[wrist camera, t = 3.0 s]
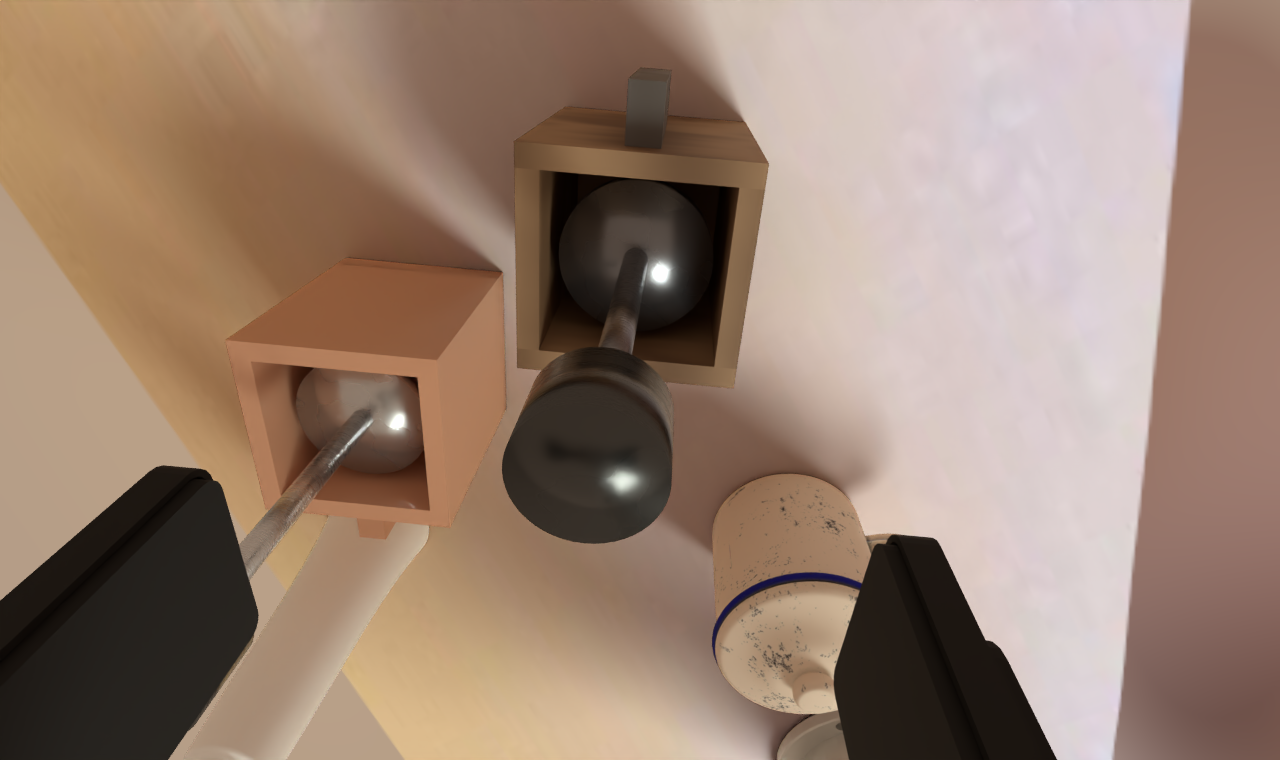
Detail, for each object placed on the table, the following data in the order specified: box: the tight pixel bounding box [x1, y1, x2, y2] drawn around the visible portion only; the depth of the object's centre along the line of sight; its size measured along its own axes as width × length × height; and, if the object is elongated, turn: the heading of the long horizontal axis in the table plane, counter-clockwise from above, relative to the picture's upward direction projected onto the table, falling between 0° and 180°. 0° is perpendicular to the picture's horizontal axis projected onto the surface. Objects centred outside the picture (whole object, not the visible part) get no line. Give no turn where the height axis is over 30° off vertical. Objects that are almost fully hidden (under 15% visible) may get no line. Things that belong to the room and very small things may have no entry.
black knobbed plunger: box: [188, 367, 424, 731], centre depth 23 cm, size 6×6×14 cm
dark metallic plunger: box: [502, 177, 713, 544], centre depth 19 cm, size 6×6×14 cm
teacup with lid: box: [712, 474, 899, 714], centre depth 35 cm, size 12×9×12 cm
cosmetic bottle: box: [184, 515, 429, 760], centre depth 32 cm, size 6×6×22 cm
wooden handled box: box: [514, 68, 769, 388], centre depth 27 cm, size 8×10×10 cm
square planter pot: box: [225, 258, 506, 540], centre depth 32 cm, size 8×10×10 cm
